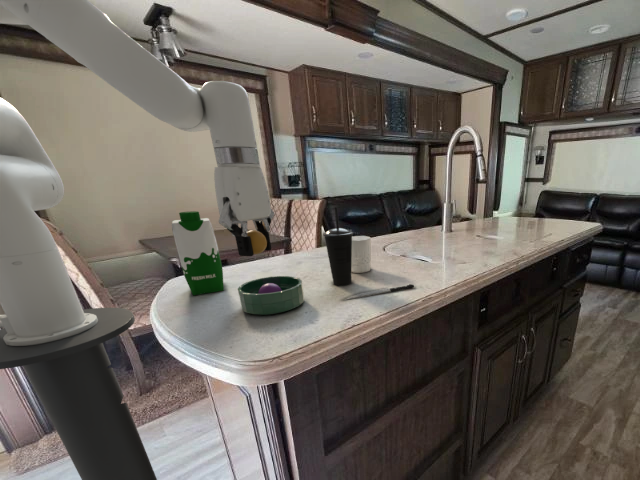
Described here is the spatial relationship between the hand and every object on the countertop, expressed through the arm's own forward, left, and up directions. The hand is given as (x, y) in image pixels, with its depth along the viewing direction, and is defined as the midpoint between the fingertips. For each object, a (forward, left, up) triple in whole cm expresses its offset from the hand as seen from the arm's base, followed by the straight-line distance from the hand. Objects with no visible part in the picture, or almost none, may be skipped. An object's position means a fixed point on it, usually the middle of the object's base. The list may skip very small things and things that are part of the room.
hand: (255, 251), depth 67 cm
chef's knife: (+26, +3, -13) cm, 29 cm away
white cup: (+24, +25, -13) cm, 37 cm away
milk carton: (-17, +17, -13) cm, 27 cm away
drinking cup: (+18, +13, -13) cm, 25 cm away
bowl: (+2, 0, -12) cm, 13 cm away
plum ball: (+2, -1, -9) cm, 10 cm away
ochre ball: (0, 0, +2) cm, 2 cm away
